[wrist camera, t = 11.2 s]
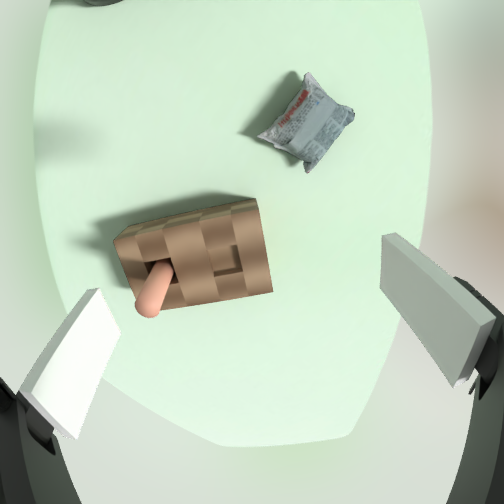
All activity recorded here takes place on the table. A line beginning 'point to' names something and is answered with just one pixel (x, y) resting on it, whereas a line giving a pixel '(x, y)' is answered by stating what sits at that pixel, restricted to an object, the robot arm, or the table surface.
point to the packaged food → (309, 124)
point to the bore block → (200, 254)
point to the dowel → (155, 288)
